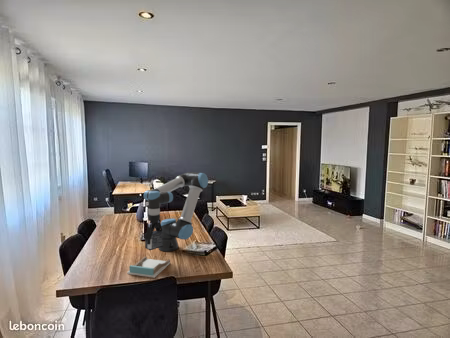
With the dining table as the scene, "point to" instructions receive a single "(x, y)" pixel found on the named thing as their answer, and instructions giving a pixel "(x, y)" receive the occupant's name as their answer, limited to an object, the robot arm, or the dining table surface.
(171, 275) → the dining table surface
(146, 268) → the light blue shallow tray
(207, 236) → the dining table surface
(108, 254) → the dining table surface
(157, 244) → the small box
